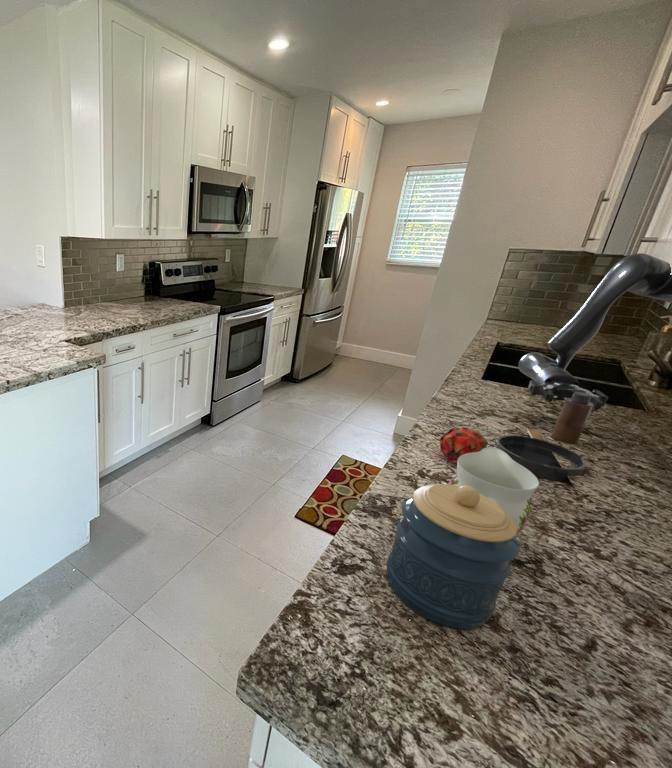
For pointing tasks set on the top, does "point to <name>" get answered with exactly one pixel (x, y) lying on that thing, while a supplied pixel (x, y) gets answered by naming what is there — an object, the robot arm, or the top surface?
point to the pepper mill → (572, 418)
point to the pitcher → (498, 481)
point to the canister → (452, 555)
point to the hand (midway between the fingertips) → (574, 402)
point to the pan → (540, 456)
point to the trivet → (537, 435)
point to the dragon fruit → (461, 443)
